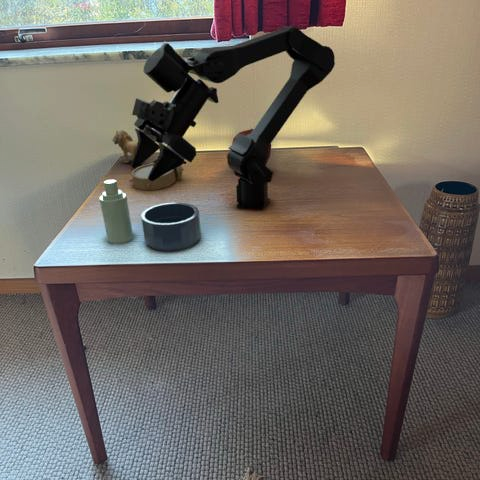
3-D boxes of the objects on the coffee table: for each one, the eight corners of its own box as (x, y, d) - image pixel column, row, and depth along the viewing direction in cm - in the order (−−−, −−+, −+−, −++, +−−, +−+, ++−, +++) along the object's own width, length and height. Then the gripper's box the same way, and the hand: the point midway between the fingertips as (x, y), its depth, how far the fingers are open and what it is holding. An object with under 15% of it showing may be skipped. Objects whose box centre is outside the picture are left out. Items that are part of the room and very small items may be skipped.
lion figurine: (113, 161, 155) (108, 130, 150) (128, 157, 158) (123, 127, 153) (140, 171, 146) (135, 138, 141) (155, 166, 149) (151, 134, 144)
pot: (209, 231, 110) (207, 205, 106) (187, 255, 101) (184, 227, 97) (161, 226, 113) (157, 200, 110) (135, 249, 104) (130, 221, 101)
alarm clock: (122, 174, 135) (161, 150, 143) (127, 191, 138) (165, 167, 146) (151, 182, 129) (190, 156, 137) (156, 199, 132) (194, 174, 140)
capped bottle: (136, 232, 111) (127, 176, 104) (129, 243, 106) (119, 186, 99) (112, 232, 111) (101, 177, 104) (104, 243, 107) (92, 186, 100)
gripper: (136, 74, 104) (94, 139, 106) (174, 89, 90) (125, 163, 92) (175, 108, 111) (136, 169, 113) (216, 127, 98) (170, 195, 100)
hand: (141, 173), depth 105 cm, fingers open, 9 cm apart
